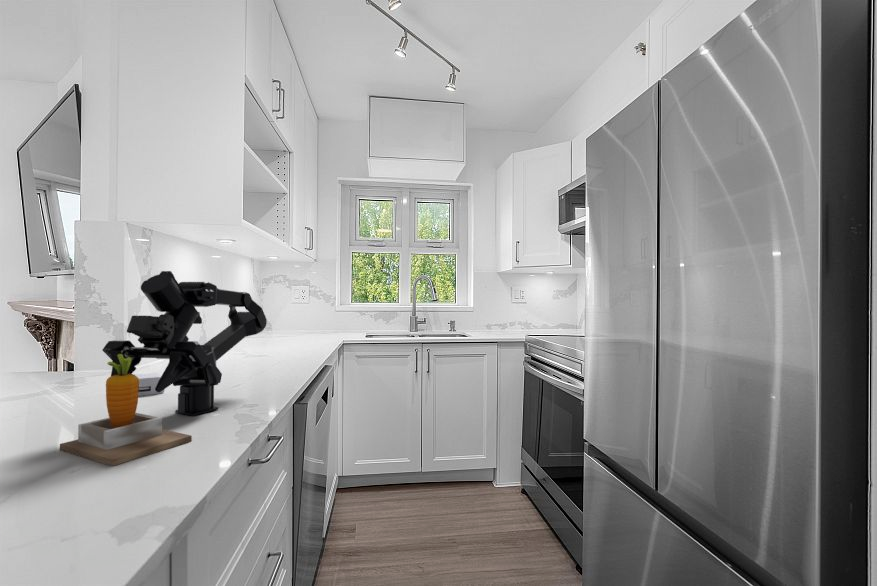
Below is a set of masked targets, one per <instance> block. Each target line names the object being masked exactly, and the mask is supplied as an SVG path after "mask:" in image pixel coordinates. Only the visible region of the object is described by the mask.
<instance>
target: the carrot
mask: <svg viewBox="0 0 877 586" xmlns="http://www.w3.org/2000/svg"><path fill="white" fill-rule="evenodd" d="M117 356H118V359H119V361H120V364H121V365H117V364H116V363H114V362H112V361H107V365H108V366H110V367H111V368H112V367H114V368H115V369H116V370H117V372H118V375H114V376H111V375H110V376H109V377H108V378H106V382H105V397H106V398H105V399H106V400H105V401H106V409H107V413H108V418H110V422H111V424H112V426H113V429H114V428H118V427H122V426H126V425H130V424H132V422H133V420H134V417H135V413H137V409H138V407H137V406H138V404H139V403H138V402H139V396H138V393H139V379H138V377H137V376H135V375H134V374H135V373H132V374H127V372H128V370H129V367H130V364H131V359H132V358H130V357H128V358H125V359H124V356H123V354H118V355H117ZM121 368H122V369H121Z"/></svg>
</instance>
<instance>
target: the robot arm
mask: <svg viewBox="0 0 877 586" xmlns="http://www.w3.org/2000/svg"><path fill="white" fill-rule="evenodd" d="M140 291H141V292H142V293H143V295H144V296H145V297H146V298H147V300H148V301H149V302H150V304H151V305H152V306H153V307H154V309H155V310H156V311H158V312H161V313H163V312H164V314H160V315H158V316H153V315H131V317H130V320H129V323H128V326H127V328H126V333H129V334H133V335H134V336H137V337H138V338H137V341H138V342H139V343H140V344H141V345H143V346H135V345H134V344H133V342H132V341H131V340H114V339H113V340H109V341H107V343H106V344H105V346H104V347H103V348H102V350H101V351H102V352H103V353H104V354H105V355H106V356H107V357H108V358H109V359H110V360H111V362H114V363H116V364H117V365H121V364H120V361H119V359H118V356H117V355H118V354H123V356H124V359H125V358H128V357H130V358H132V359H131V364H130V367H129V370H128V372H127V374H134V372H135V371H136V370H137V367H136V366H139V364H140V363H141V361H142V359H157V360H169V361H168V364H167V366H166V368H165V369H164V371H163V372H162V376H161V378H160V380H159V381H158V383H157V386H156V388H155V390H156V391H157V392H161V391H162V390H164V391H165V390H166V389H167V388H168V387H169V386H171V385H173V386H174V387H177V386H179V393H178V394H177V409H176V410H175V411H174V413H176V414H180V415H187V416H192V417H193V416H199V415H201V414H205V413H209V412H213V411H216V410H217V411H218V410H219V407H218V406H215V386H218V385H219V384H221V381H222V375H223V373H222V372H221V370H220V369H219V367H217V361H218V360H219V359H220V358H222V357H223V356H224V355H226V354H227V353H228V352H229V351H231V350H232V348H234V347H235V346H236V345H238V344H239V343H240V342H241V341H243V340H244V339H245V338H246V337H250V336H255V335H257V334H260V333H262V332H263V331H264V330H265V328H266V326H267V323H268V322H267V317H266V315H265V312H264V311H263V308H262V306H261V305H259V304H258V303H257V302H256V301H254V299H253V297H252V296H251V294H250V293H249V292H246V291H235V290H229V289H221V288H218V287H217V285H215V284H213V283H211V282H210V281H181V282H178V280H177V279H176V277H175V275H174V274H173V272H172V270H161V271H160V273H159V274H156V275H153V276H151V277H149V278H147V280H144V281H143V282H141V285H140ZM216 305H218V306H219V305H220V306H221V305H222V306H228V307H229V311H228V315H227V317H228V319H229V321H230V325H228V326H227V327H226V328H224V329H223V330H221V331H220V332H219V333H218V334H216V335H215V336H213V337H212V338H210V339H209V340H208V341H207V342H205V343H204V344H200V343H199V341H196V340H192V341H191V340H190V338H189V337H188V333H189V331H190V329H191V327H192V326H193V325H201V324H203V318H202V317H201V312H200V311H198V309H197V308H199V307H200V308H208V307H213V306H216ZM196 307H197V308H196ZM236 307H237V308H240V307H241V308H245V310H246V311H237V308H236ZM121 369H122V368H121ZM114 375H118V372H117V370H116V369H115V368H114V367H112V366H111V374H110V377H111V376H114Z"/></svg>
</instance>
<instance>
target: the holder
mask: <svg viewBox="0 0 877 586" xmlns="http://www.w3.org/2000/svg"><path fill="white" fill-rule="evenodd" d="M77 427H78V429H77V431H78V432H77V435H78V436H77V437H78V439H74V440H70V441H66V442H63V443H60V444H59V450H60V451H62V452H66V453H69V454H72V455H75V456H78V457H82V458H85V459H88V460H90V461H94V462H98V463H101V464H104V465H106V466H111V467H114V466H116V465H120V464H123V463H125V462H129V461H134V460H136V459H139V458H142V457H145V456H149V455H152V454H155V453H157V452H161V451H164V450H167V449H171V448H175V447H177V446H180V445H183V444H187V443H189V442H192V441H193V440H192V438H193V437H192V435H191V434H188V433H187V434H185V433H181V432H177V431H173V430H168V429H164V428H163V418H162V417H158V416H153V415H150V414H144V413H138V412H136V413H135V417H134V420H133V422H132V424H130V425H126V426H122V427H118V428H114V429H113V426H112V424H111V422H110V418H109V417H107V418H106V417H105V418H102V419H96V420H93V421H89V422H84V423H79V424H78V425H77Z"/></svg>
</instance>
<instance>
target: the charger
mask: <svg viewBox="0 0 877 586" xmlns="http://www.w3.org/2000/svg"><path fill="white" fill-rule="evenodd" d="M133 374H134V375H135V376H137V377H138V379H139V393H138V397H141V396H150V395H151V396H152V395H157V394H158V395H159V394H160V395H161V394H163V393H164V392H165V389H164V390H162V391H161V392H157V391H156V390H155V388H156V386H157V383H158V381H159V380H160V378H161V376H162V374H163V372H159V371H157V372H145V373H133Z"/></svg>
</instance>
